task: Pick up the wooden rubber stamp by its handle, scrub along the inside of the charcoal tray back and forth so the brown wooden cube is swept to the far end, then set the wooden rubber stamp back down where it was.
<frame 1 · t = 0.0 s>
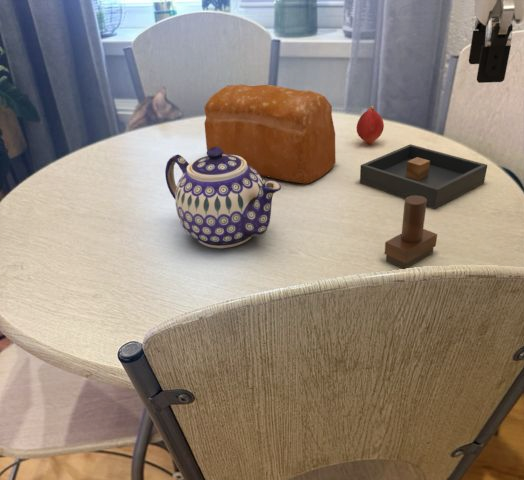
hand: (484, 72, 70), 24 cm above the table, tool pointing down, fingers open, 9 cm apart
teapot: (226, 235, 91), on the table
brown wooden cube: (416, 176, 101), point 1 cm above the table, touching tray
onion: (369, 144, 120), on the table
tray: (420, 183, 101), on the table
bread: (271, 167, 114), on the table
wooden rubber stamp: (409, 256, 81), on the table
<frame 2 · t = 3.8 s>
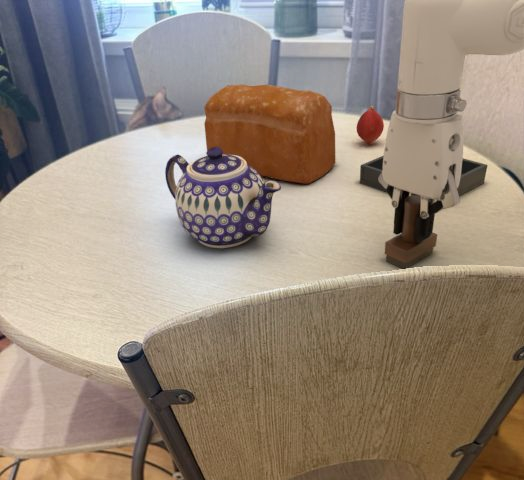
hand: (411, 234, 78), 4 cm above the table, tool pointing down, fingers closed on wooden rubber stamp, 3 cm apart
wooden rubber stamp: (409, 256, 81), on the table, touching gripper
everything else where it was.
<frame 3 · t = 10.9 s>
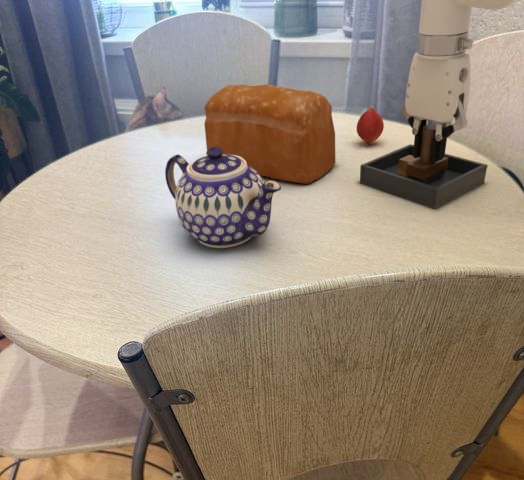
hand: (428, 157, 97), 5 cm above the table, tool pointing down, fingers closed on wooden rubber stamp, 3 cm apart
brown wooden cube: (409, 174, 102), point 1 cm above the table, touching tray
wooden rubber stamp: (425, 177, 100), point 1 cm above the table, touching gripper
everything else where it was.
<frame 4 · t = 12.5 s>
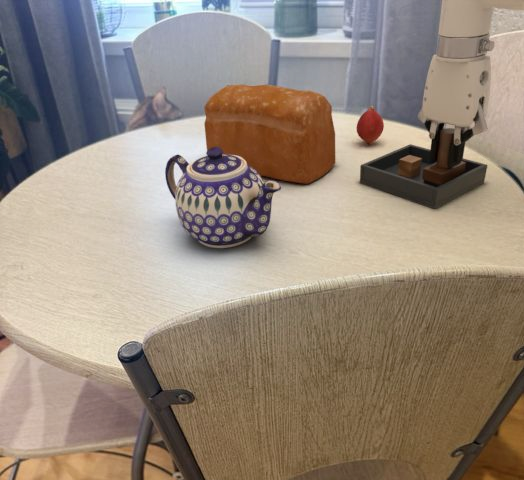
hand: (445, 161, 95), 5 cm above the table, tool pointing down, fingers closed on wooden rubber stamp, 3 cm apart
wooden rubber stamp: (442, 182, 97), point 1 cm above the table, touching gripper
everything else where it was.
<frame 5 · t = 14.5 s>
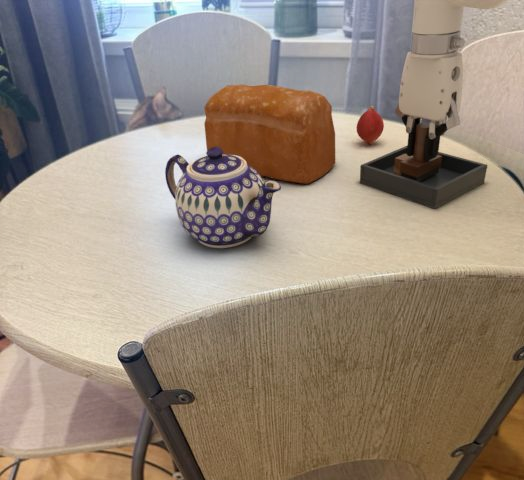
hand: (421, 155, 98), 5 cm above the table, tool pointing down, fingers closed on wooden rubber stamp, 3 cm apart
brown wooden cube: (404, 172, 103), point 1 cm above the table, touching wooden rubber stamp, tray
wooden rubber stamp: (419, 175, 101), point 1 cm above the table, touching brown wooden cube, gripper
everything else where it was.
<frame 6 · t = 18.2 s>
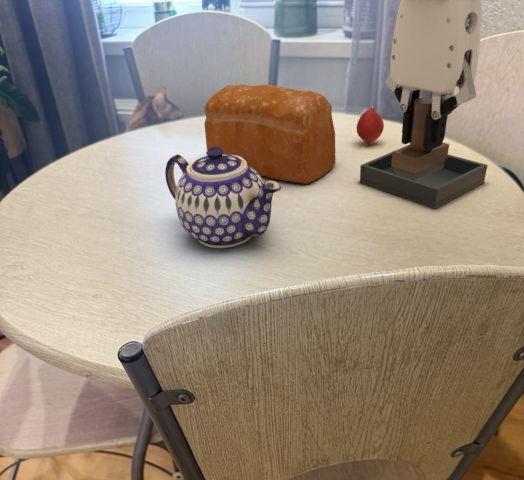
hand: (421, 143, 72), 16 cm above the table, tool pointing down, fingers closed on wooden rubber stamp, 3 cm apart
brown wooden cube: (404, 172, 103), point 1 cm above the table, touching tray
wooden rubber stamp: (418, 170, 74), point 13 cm above the table, touching gripper
everything else where it was.
when the fingers open (4 cm above the table, at t = 21.3 s): wooden rubber stamp stays where it is, on the table.
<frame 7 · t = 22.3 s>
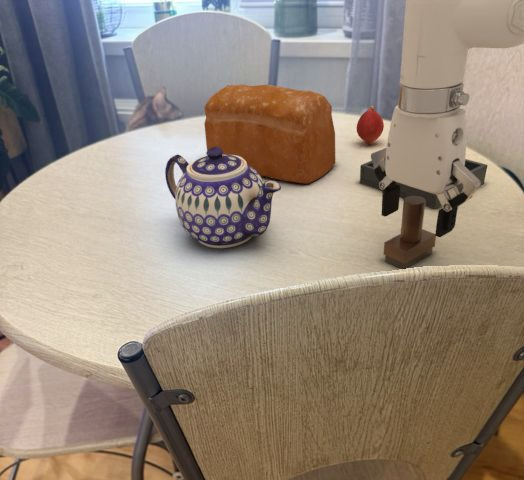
hand: (415, 222, 77), 6 cm above the table, tool pointing down, fingers open, 9 cm apart
wooden rubber stamp: (408, 257, 81), on the table
everything else where it was.
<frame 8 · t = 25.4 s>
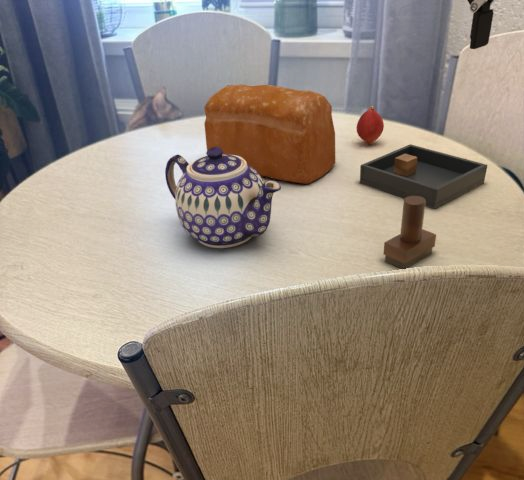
hand: (512, 50, 66), 26 cm above the table, tool pointing down, fingers open, 9 cm apart
nothing on the table moved.
at the end: brown wooden cube inside the target area in the tray (1.9 cm from its centre), point 1.0 cm above the tray's base; wooden rubber stamp inside the target area (0.2 cm from its centre), on the table; wooden rubber stamp tilted 0° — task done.
